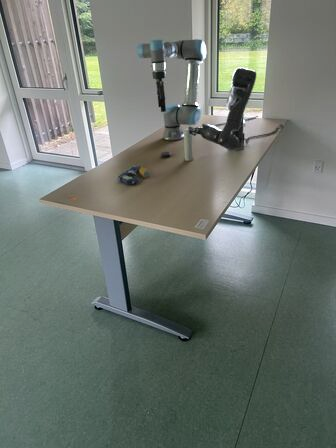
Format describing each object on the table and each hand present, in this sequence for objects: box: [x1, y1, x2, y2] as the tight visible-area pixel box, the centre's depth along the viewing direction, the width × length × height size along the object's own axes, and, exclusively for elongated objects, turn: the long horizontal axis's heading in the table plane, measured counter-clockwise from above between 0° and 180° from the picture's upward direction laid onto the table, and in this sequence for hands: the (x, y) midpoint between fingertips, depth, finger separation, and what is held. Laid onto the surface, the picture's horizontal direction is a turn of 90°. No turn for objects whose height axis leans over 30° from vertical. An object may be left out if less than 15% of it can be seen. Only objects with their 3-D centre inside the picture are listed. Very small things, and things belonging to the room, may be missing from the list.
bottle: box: [183, 127, 194, 162], centre depth 203 cm, size 5×5×19 cm
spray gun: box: [116, 164, 150, 186], centre depth 188 cm, size 21×4×15 cm
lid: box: [160, 151, 171, 159], centre depth 216 cm, size 6×6×2 cm
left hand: (162, 109), depth 201 cm, fingers open, 13 cm apart
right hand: (196, 126), depth 188 cm, fingers open, 8 cm apart
